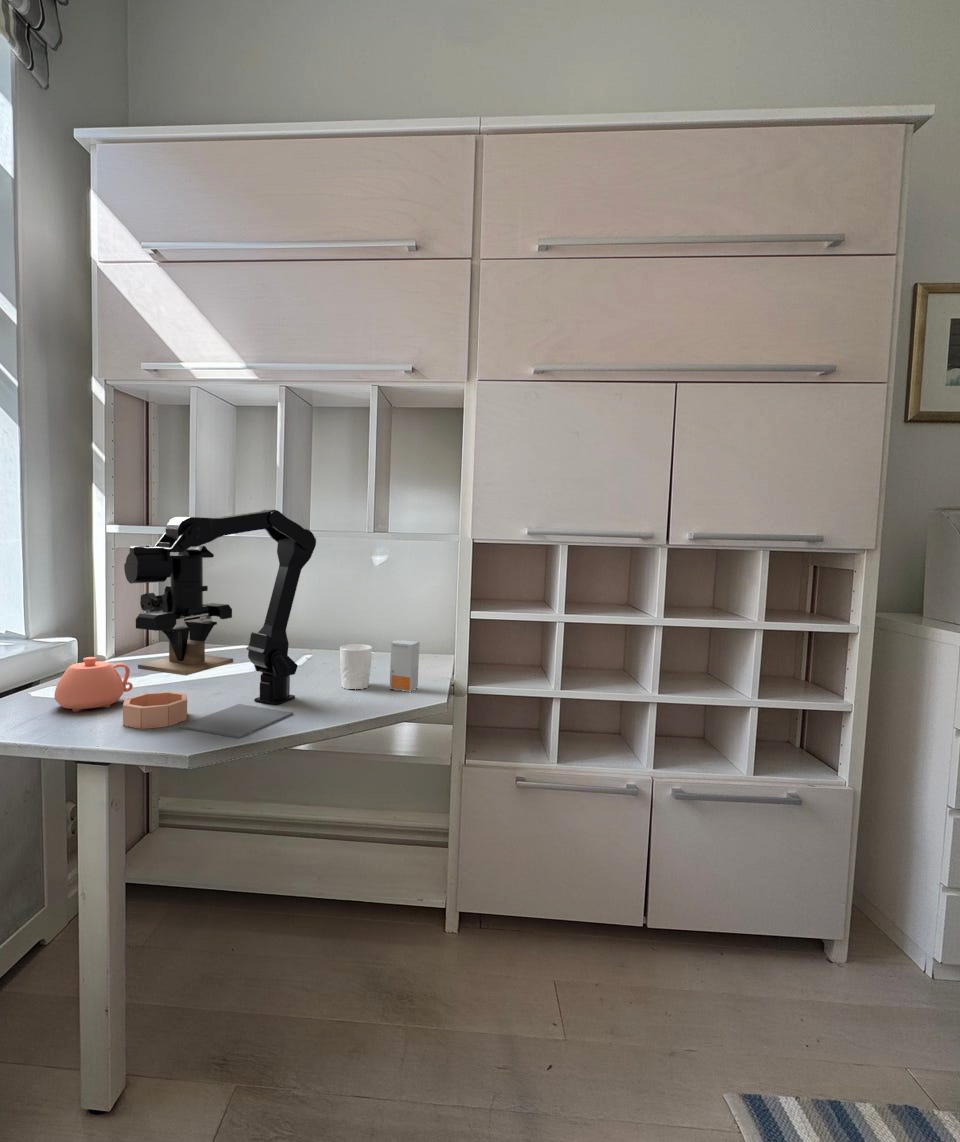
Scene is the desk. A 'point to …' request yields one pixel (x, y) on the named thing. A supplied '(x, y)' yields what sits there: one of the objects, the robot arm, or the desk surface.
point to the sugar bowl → (91, 685)
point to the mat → (236, 720)
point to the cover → (186, 661)
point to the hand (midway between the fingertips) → (187, 658)
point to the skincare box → (404, 665)
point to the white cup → (355, 666)
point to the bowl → (155, 709)
